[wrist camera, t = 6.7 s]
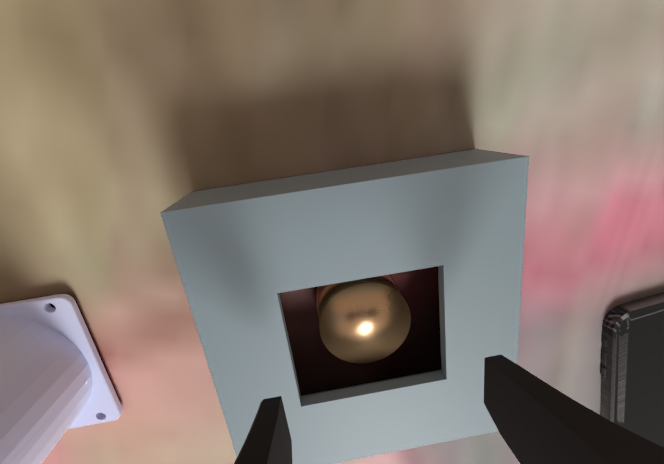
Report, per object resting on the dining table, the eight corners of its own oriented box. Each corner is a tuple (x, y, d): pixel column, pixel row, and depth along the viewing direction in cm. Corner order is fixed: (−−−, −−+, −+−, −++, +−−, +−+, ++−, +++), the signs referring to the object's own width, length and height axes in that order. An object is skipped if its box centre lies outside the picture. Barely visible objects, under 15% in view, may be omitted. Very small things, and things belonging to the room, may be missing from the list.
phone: (735, 281, 20) (706, 454, 25) (713, 273, 21) (690, 441, 26) (611, 316, 20) (606, 483, 25) (595, 307, 21) (594, 469, 26)
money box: (254, 414, 20) (244, 481, 16) (193, 191, 16) (160, 212, 12) (474, 373, 21) (513, 427, 17) (475, 149, 16) (528, 156, 13)
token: (321, 333, 19) (326, 370, 16) (310, 265, 18) (312, 291, 15) (396, 320, 19) (413, 354, 16) (390, 251, 18) (408, 275, 15)
